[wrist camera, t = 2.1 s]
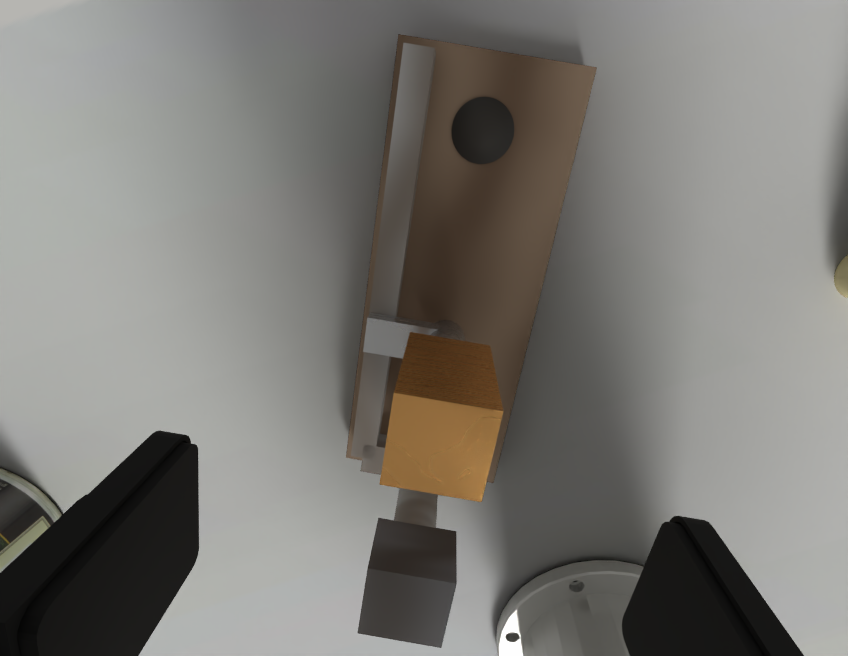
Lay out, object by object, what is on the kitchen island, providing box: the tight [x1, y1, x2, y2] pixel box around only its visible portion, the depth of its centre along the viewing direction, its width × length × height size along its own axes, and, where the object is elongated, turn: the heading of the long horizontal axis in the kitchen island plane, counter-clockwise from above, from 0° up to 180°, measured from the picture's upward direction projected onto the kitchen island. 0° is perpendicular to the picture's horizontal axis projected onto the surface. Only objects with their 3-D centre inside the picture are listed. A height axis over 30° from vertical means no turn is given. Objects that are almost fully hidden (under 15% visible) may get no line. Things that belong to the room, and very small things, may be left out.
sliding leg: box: [363, 312, 503, 502], centre depth 18 cm, size 5×3×10 cm, turn 81°
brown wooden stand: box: [346, 34, 597, 648], centre depth 19 cm, size 8×20×11 cm, turn 171°
